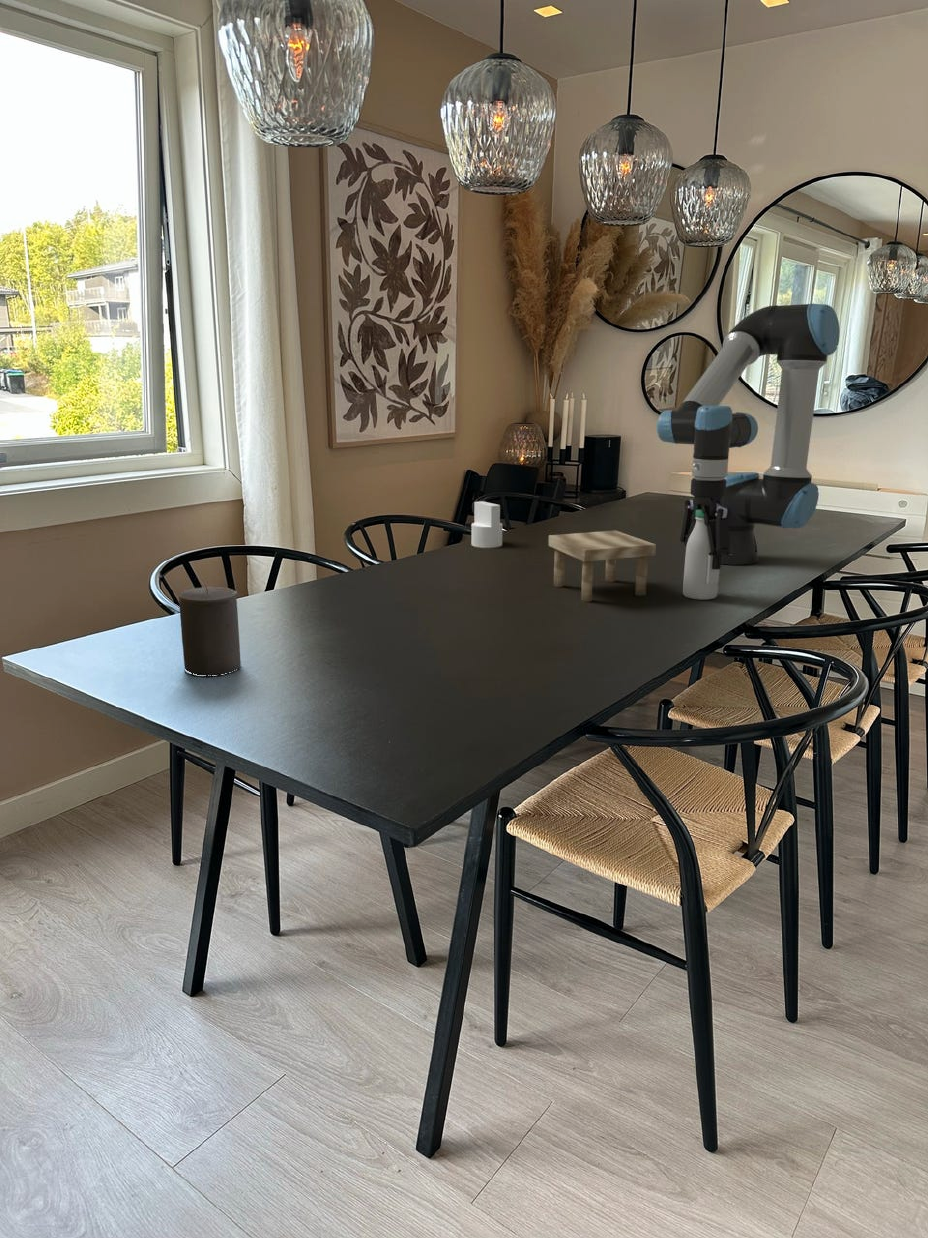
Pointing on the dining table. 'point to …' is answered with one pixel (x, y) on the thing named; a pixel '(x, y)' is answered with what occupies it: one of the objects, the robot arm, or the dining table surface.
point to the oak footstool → (600, 556)
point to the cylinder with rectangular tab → (486, 525)
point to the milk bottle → (698, 563)
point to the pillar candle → (210, 630)
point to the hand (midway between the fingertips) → (701, 578)
